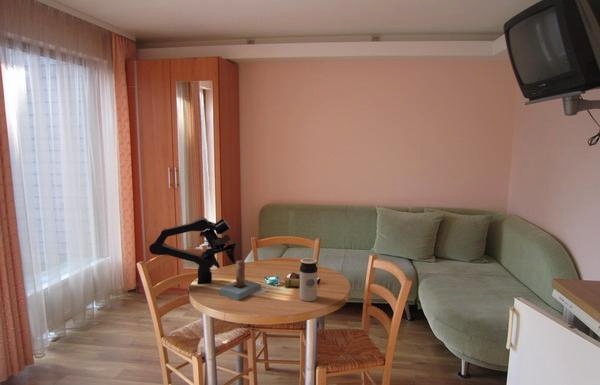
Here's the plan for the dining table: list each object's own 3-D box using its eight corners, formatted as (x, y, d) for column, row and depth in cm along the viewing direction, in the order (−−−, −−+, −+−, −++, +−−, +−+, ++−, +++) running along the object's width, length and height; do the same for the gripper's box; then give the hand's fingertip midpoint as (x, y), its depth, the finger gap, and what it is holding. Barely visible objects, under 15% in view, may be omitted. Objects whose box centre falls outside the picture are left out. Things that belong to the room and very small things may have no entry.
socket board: (219, 294, 178) (219, 288, 177) (242, 284, 191) (242, 279, 191) (238, 300, 171) (238, 293, 171) (261, 289, 184) (261, 283, 184)
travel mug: (299, 294, 178) (300, 257, 176) (316, 295, 178) (317, 258, 176) (299, 301, 170) (299, 262, 168) (316, 302, 170) (317, 263, 168)
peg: (236, 293, 179) (236, 262, 177) (236, 290, 183) (236, 260, 181) (244, 293, 179) (244, 262, 178) (244, 290, 183) (244, 260, 182)
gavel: (284, 269, 208) (302, 269, 208) (284, 277, 208) (302, 277, 209) (285, 279, 187) (305, 279, 187) (285, 288, 187) (305, 288, 188)
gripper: (203, 233, 180) (217, 261, 175) (234, 227, 194) (248, 252, 188) (194, 247, 187) (208, 273, 181) (225, 239, 200) (239, 263, 195)
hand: (227, 265), depth 186 cm, fingers open, 9 cm apart
